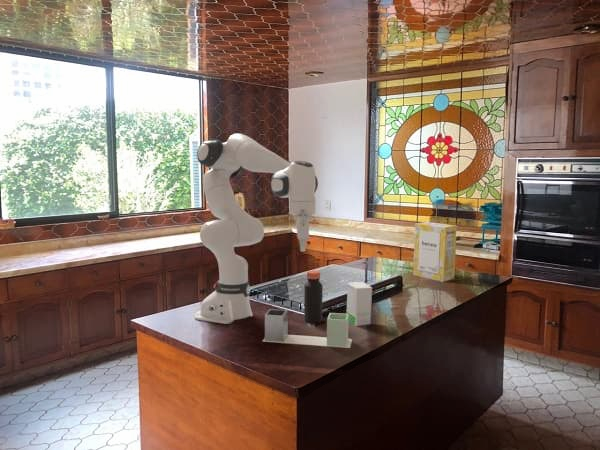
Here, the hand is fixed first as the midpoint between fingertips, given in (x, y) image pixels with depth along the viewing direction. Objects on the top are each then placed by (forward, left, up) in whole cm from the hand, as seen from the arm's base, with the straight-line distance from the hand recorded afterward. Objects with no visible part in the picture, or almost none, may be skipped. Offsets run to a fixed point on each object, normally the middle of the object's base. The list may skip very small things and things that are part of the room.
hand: (302, 248), depth 164 cm
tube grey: (-8, -8, -30) cm, 32 cm away
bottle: (+2, +12, -31) cm, 34 cm away
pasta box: (+53, +95, -31) cm, 113 cm away
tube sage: (+13, -8, -30) cm, 34 cm away
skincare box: (+19, +14, -31) cm, 39 cm away
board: (+3, -8, -31) cm, 32 cm away
